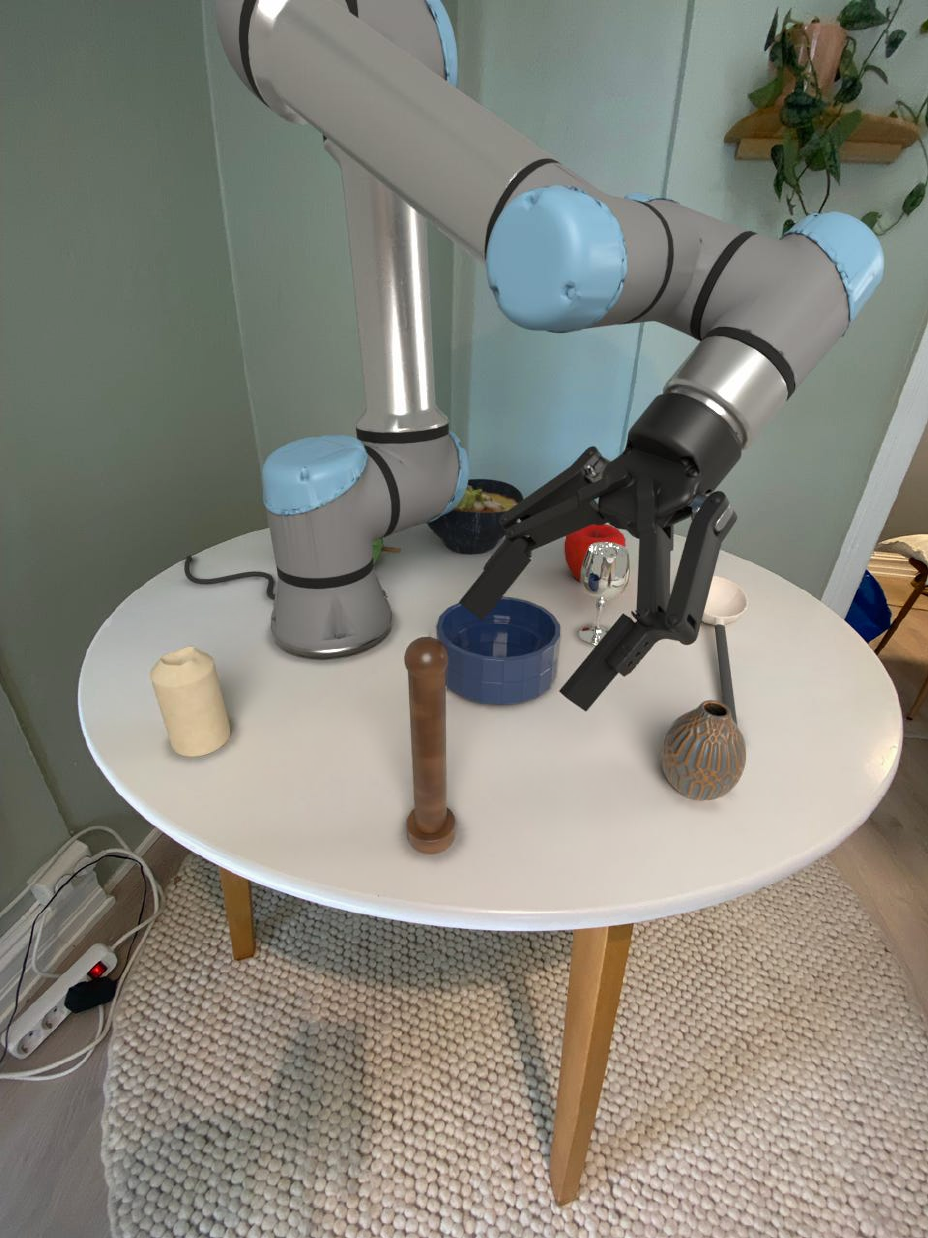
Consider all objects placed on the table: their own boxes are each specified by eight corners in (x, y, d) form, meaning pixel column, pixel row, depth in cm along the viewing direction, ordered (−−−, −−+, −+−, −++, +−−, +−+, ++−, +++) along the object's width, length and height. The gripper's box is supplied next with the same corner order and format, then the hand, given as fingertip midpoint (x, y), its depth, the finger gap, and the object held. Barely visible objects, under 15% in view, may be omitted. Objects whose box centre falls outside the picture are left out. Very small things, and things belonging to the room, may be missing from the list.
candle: (212, 713, 63) (191, 632, 58) (242, 735, 60) (222, 652, 55) (161, 740, 59) (133, 656, 54) (190, 766, 56) (164, 679, 51)
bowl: (537, 538, 104) (542, 482, 99) (488, 575, 91) (490, 513, 86) (455, 519, 112) (455, 466, 107) (399, 550, 99) (396, 492, 94)
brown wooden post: (398, 843, 49) (384, 647, 39) (421, 809, 52) (414, 619, 42) (441, 862, 47) (438, 663, 38) (463, 825, 50) (465, 632, 41)
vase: (682, 820, 51) (704, 742, 47) (641, 764, 57) (657, 690, 52) (751, 804, 53) (778, 727, 48) (704, 751, 58) (725, 678, 54)
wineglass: (619, 650, 74) (634, 562, 68) (572, 645, 75) (582, 557, 69) (618, 626, 79) (632, 542, 72) (574, 622, 80) (584, 538, 73)
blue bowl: (416, 689, 67) (414, 640, 63) (468, 632, 77) (468, 587, 74) (531, 724, 62) (536, 673, 58) (570, 658, 72) (575, 611, 69)
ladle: (737, 599, 84) (746, 573, 82) (760, 771, 61) (774, 743, 58) (679, 590, 86) (686, 565, 83) (680, 754, 63) (690, 726, 60)
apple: (621, 593, 87) (629, 543, 83) (560, 588, 88) (565, 539, 84) (617, 567, 94) (625, 520, 90) (561, 563, 95) (566, 516, 92)
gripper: (883, 505, 36) (658, 772, 38) (609, 423, 55) (465, 603, 56) (861, 424, 31) (602, 734, 33) (568, 364, 50) (411, 563, 51)
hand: (515, 652), depth 44 cm, fingers open, 13 cm apart
